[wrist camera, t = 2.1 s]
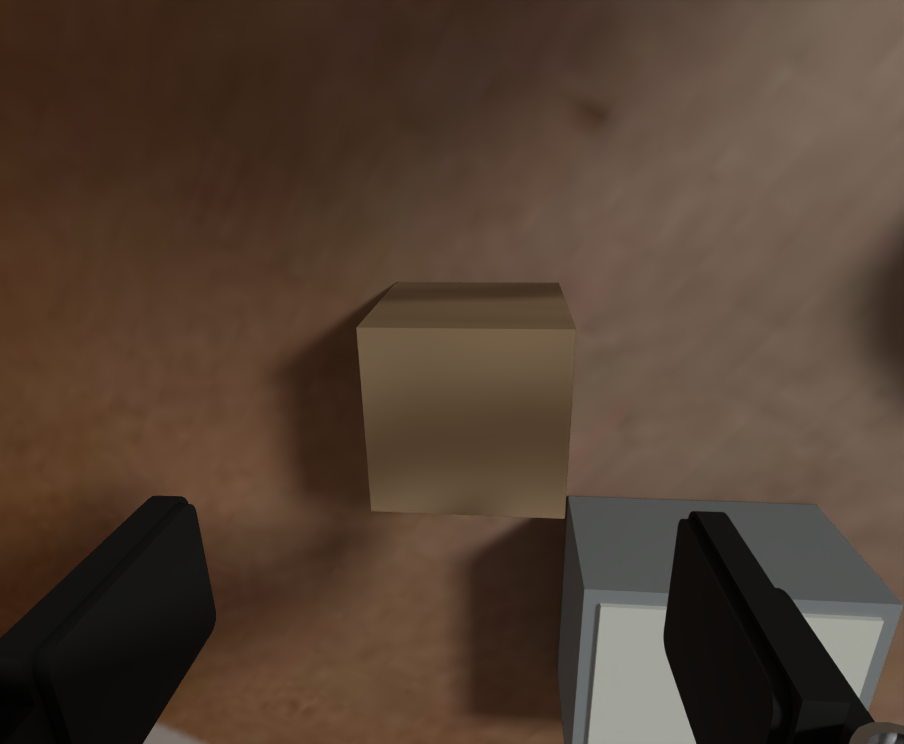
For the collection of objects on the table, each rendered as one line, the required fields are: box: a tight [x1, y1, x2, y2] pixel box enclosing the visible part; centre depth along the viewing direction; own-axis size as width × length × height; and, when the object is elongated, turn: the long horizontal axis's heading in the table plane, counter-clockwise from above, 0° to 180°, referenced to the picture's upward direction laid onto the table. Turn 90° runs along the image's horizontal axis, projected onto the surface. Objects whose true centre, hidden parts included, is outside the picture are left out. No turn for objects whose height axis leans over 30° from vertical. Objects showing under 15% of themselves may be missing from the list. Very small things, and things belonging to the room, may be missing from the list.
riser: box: [557, 496, 903, 744], centre depth 21 cm, size 9×9×5 cm
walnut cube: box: [356, 283, 576, 519], centre depth 18 cm, size 6×6×6 cm
